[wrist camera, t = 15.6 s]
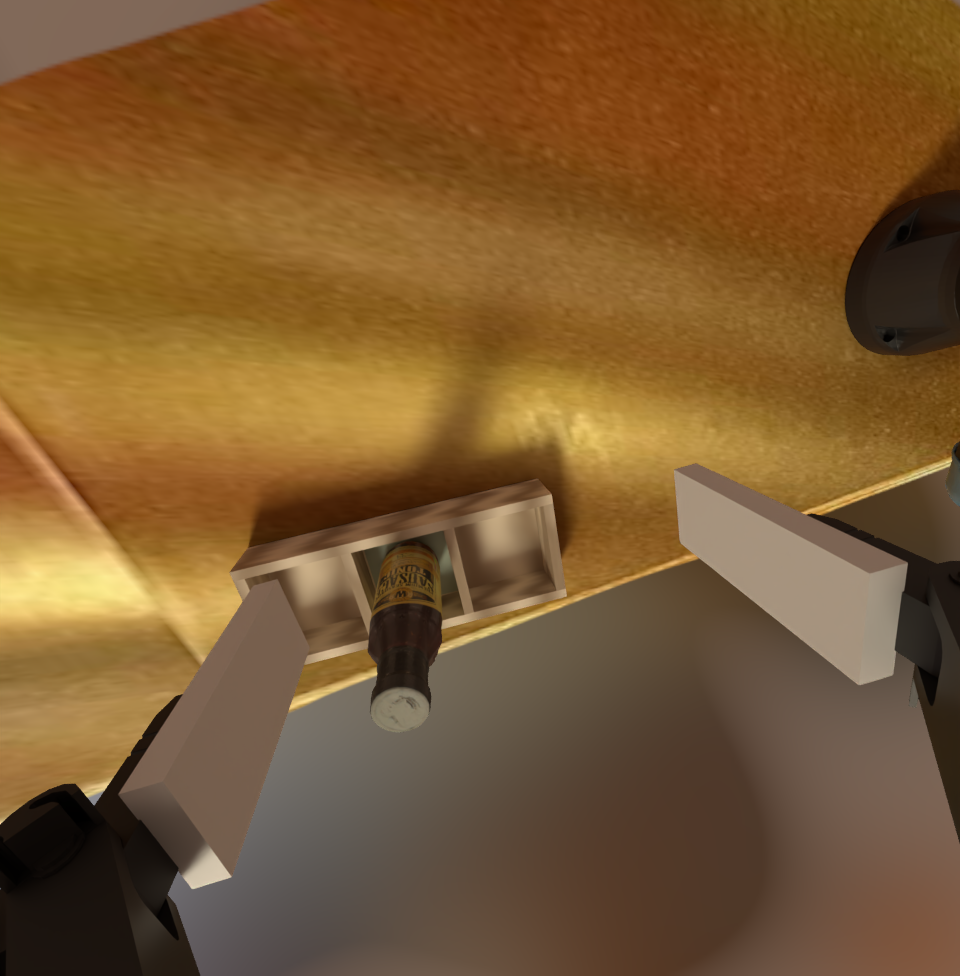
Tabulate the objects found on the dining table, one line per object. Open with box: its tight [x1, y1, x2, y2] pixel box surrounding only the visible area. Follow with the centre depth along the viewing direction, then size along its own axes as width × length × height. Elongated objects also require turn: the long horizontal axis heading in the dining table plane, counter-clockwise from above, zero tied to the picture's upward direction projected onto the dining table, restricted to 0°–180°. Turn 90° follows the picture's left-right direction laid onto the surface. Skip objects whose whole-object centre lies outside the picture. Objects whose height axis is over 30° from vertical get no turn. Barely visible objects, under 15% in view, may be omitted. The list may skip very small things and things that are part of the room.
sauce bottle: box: [368, 541, 442, 732], centre depth 39 cm, size 7×6×20 cm
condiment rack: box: [229, 478, 567, 665], centre depth 46 cm, size 31×12×5 cm, turn 101°
